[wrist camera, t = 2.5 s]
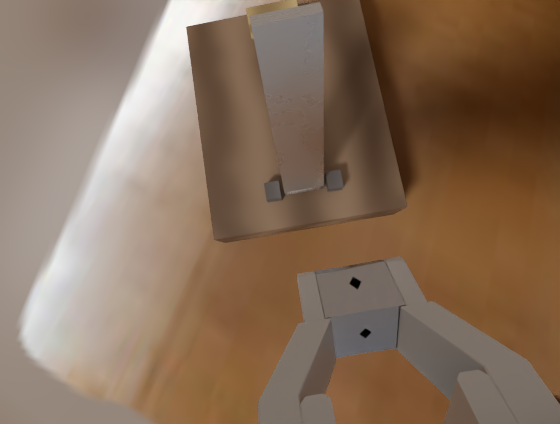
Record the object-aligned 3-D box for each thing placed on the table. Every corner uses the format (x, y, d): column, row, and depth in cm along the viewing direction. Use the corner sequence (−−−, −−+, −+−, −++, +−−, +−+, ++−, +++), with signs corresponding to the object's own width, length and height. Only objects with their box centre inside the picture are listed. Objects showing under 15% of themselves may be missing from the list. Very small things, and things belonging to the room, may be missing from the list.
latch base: (351, 24, 34) (361, -25, 28) (393, 214, 30) (415, 202, 25) (199, 54, 34) (179, 12, 29) (225, 242, 31) (207, 238, 25)
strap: (319, 1, 15) (323, 12, 14) (321, 181, 27) (323, 190, 27) (249, 15, 15) (251, 26, 14) (283, 188, 27) (285, 197, 27)
